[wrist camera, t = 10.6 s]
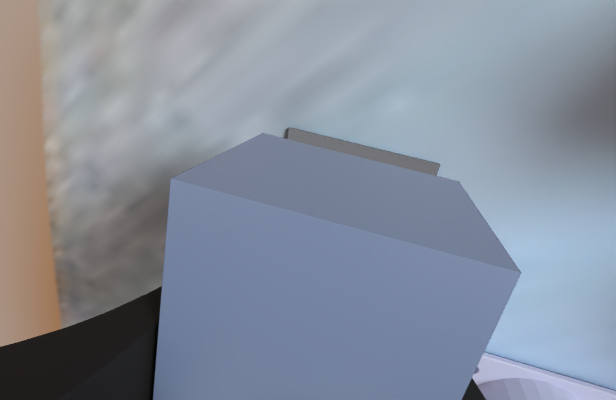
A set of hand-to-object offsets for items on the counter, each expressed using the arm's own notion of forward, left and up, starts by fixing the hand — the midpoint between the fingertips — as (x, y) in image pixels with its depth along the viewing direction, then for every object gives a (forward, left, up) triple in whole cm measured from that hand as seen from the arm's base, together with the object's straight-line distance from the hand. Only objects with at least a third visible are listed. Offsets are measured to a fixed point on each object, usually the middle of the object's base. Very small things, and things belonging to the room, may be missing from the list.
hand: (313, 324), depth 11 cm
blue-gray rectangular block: (0, 0, -2) cm, 2 cm away
